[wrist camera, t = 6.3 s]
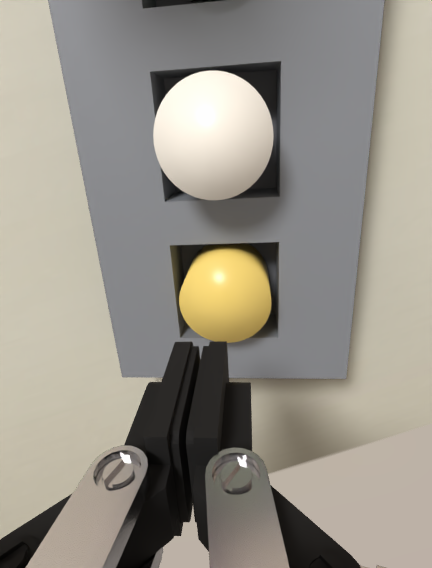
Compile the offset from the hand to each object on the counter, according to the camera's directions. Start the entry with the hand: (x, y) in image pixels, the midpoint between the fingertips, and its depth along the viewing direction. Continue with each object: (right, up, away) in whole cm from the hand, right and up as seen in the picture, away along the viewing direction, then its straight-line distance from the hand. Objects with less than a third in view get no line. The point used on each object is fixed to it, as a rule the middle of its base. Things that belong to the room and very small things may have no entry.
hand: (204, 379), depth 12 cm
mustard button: (+1, +4, +8) cm, 9 cm away
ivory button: (+1, +9, +4) cm, 10 cm away
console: (+1, +10, +6) cm, 12 cm away
